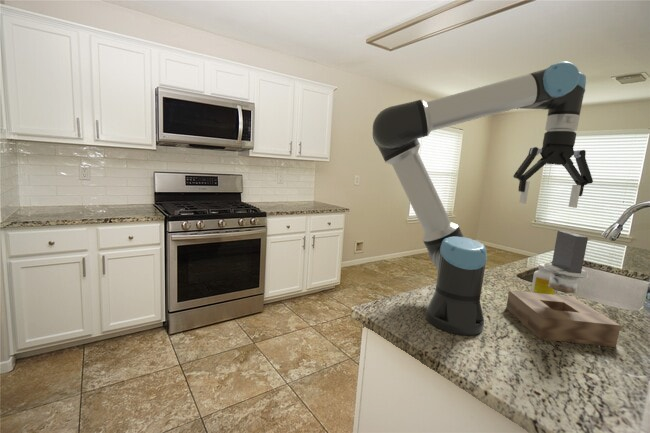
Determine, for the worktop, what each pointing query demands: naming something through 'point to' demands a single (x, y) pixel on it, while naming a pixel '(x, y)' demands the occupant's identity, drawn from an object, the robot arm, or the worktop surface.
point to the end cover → (567, 262)
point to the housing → (562, 319)
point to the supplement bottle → (541, 281)
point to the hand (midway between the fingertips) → (547, 205)
